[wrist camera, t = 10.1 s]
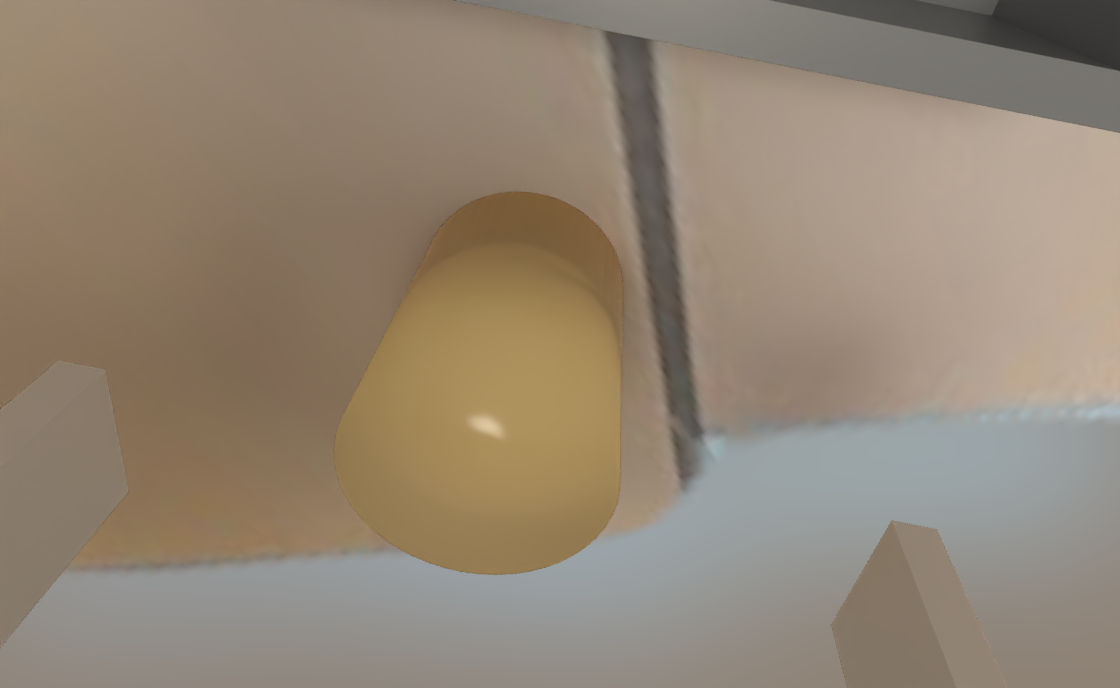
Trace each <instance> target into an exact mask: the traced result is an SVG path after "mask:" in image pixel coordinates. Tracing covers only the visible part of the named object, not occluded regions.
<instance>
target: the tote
mask: <svg viewBox="0 0 1120 688" xmlns="http://www.w3.org/2000/svg"><path fill="white" fill-rule="evenodd" d="M455 1H460V2H465V3H470V4H475V5H480V6H485V7H490V8H496V9H501V10H506V11H511V12H516V13H521V14H526V15H531V16H536V17H541V18H546V19H551V20H556V21H561V22H566V23H571V24H576V25H581V26H586V27H591V28H596V29H601V30H606V31H611V32H616V33H621V34H626V35H631V36H636V37H641V38H646V39H651V40H656V41H661V42H666V43H671V44H676V45H681V46H686V47H691V48H696V49H701V50H706V51H711V52H716V53H721V54H726V55H732V56H737V57H742V58H747V59H752V60H757V61H762V62H767V63H772V64H777V65H782V66H787V67H792V68H797V69H802V70H807V71H812V72H817V73H822V74H827V75H832V76H837V77H842V78H847V79H852V80H857V81H862V82H867V83H872V84H877V85H882V86H887V87H892V88H897V89H902V90H907V91H912V92H917V93H922V94H927V95H932V96H937V97H942V98H947V99H952V100H957V101H962V102H967V103H973V104H978V105H983V106H988V107H993V108H998V109H1003V110H1008V111H1013V112H1018V113H1023V114H1028V115H1033V116H1038V117H1043V118H1048V119H1053V120H1058V121H1063V122H1068V123H1073V124H1078V125H1083V126H1088V127H1093V128H1098V129H1103V130H1108V131H1113V132H1118V133H1120V0H455Z"/></svg>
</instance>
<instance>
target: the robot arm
mask: <svg viewBox="0 0 1120 688" xmlns="http://www.w3.org/2000/svg"><path fill="white" fill-rule="evenodd" d="M128 492H129V489H128V484H127V479H126V474H125V469H124V463H123V458H122V453H121V448H120V443H119V438H118V432H117V427H116V422H115V417H114V412H113V406H112V401H111V396H110V391H109V386H108V381H107V375H106V370H105V369H101V368H96V367H91V366H85V365H80V364H75V363H70V362H65V361H59V360H58V361H57V362H56V363H55V364H54V365H52V366H51V367H50V368H49V369H48V370H47V371H45V372H44V373H43V374H42V375H41V376H39V377H38V378H37V379H36V380H35V381H33V382H32V383H31V384H30V385H29V386H28V387H26V388H25V389H24V390H23V391H22V392H20V393H19V394H18V395H17V396H16V397H15V398H13V399H12V400H11V401H10V402H9V403H7V404H6V405H5V406H4V407H3V408H2V409H0V648H1V646H2V645H3V644H4V643H5V642H6V640H7V639H8V638H9V637H10V635H11V634H12V633H13V632H14V631H15V629H16V628H17V627H18V626H19V624H20V623H21V622H22V621H23V620H24V618H25V617H26V616H27V615H28V614H29V612H30V611H31V610H32V609H33V607H34V606H35V605H36V604H37V603H38V601H39V600H40V599H41V598H42V597H43V595H44V594H45V593H46V592H47V590H48V589H49V588H50V587H51V586H52V584H53V583H54V582H55V581H56V579H57V578H58V577H59V576H60V575H61V573H62V572H63V571H64V570H65V569H66V567H67V566H68V565H69V564H70V562H71V561H72V560H73V559H74V558H75V556H76V555H77V554H78V553H79V552H80V550H81V549H82V548H83V547H84V545H85V544H86V543H87V542H88V541H89V539H90V538H91V537H92V536H93V534H94V533H95V532H96V531H97V530H98V528H99V527H100V526H101V525H102V524H103V522H104V521H105V520H106V519H107V517H108V516H109V515H110V514H111V513H112V511H113V510H114V509H115V508H116V506H117V505H118V504H119V503H120V502H121V500H122V499H123V498H124V497H125V496H126V494H127V493H128ZM831 626H832V630H833V634H834V638H835V642H836V646H837V650H838V654H839V658H840V662H841V666H842V670H843V674H844V677H845V681H846V685H847V688H1008V686H1007V684H1006V682H1005V680H1004V677H1003V675H1002V673H1001V671H1000V668H999V666H998V664H997V662H996V660H995V657H994V655H993V653H992V651H991V648H990V646H989V644H988V642H987V640H986V637H985V635H984V633H983V631H982V629H981V626H980V624H979V622H978V620H977V617H976V615H975V613H974V611H973V609H972V606H971V604H970V602H969V600H968V597H967V596H966V593H965V591H964V589H963V587H962V584H961V582H960V580H959V577H958V575H957V573H956V571H955V569H954V566H953V564H952V562H951V560H950V557H949V555H948V553H947V551H946V549H945V546H944V544H943V542H942V540H941V538H940V535H939V533H938V531H937V529H933V528H928V527H922V526H917V525H912V524H906V523H902V522H896V521H891V523H890V524H889V526H888V528H887V530H886V531H885V533H884V535H883V537H882V538H881V540H880V542H879V543H878V545H877V547H876V549H875V550H874V552H873V554H872V555H871V557H870V559H869V560H868V562H867V564H866V566H865V567H864V569H863V571H862V573H861V574H860V576H859V578H858V580H857V581H856V583H855V584H854V586H853V588H852V590H851V592H850V593H849V595H848V596H847V598H846V600H845V602H844V603H843V605H842V607H841V609H840V610H839V612H838V614H837V615H836V617H835V619H834V621H833V622H832V624H831Z"/></svg>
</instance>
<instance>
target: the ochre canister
mask: <svg viewBox="0 0 1120 688" xmlns="http://www.w3.org/2000/svg"><path fill="white" fill-rule="evenodd" d="M622 295H623V280H622V272H621V267H620V264H619V260H618V257H617V255H616V253H615V250H614V248H613V246H612V245H611V243H610V241H609V240H608V238H607V237H606V235H605V234H604V233H603V232H602V230H601V229H600V228H599V227H598V226H597V225H596V224H595V223H594V222H593V221H592V220H591V219H590V218H589V217H588V216H586V215H585V214H583V213H582V212H581V211H579V210H578V209H576V208H574V207H573V206H571V205H569V204H567V203H565V202H563V201H560V200H558V199H555V198H553V197H549V196H545V195H541V194H536V193H528V192H506V193H498V194H494V195H490V196H486V197H483V198H480V199H478V200H476V201H473V202H471V203H469V204H468V205H466V206H464V207H462V208H461V209H459V210H458V211H457V212H456V213H454V214H453V215H452V216H451V217H450V218H449V219H448V220H447V221H446V222H445V223H444V224H443V225H442V226H441V228H440V229H439V231H438V232H437V234H436V235H435V237H434V239H433V241H432V243H431V245H430V247H429V249H428V251H427V253H426V255H425V257H424V259H423V260H422V262H421V264H420V266H419V268H418V270H417V272H416V274H415V276H414V278H413V280H412V282H411V284H410V286H409V288H408V290H407V292H406V294H405V296H404V298H403V300H402V301H401V303H400V305H399V307H398V309H397V311H396V313H395V315H394V317H393V319H392V321H391V323H390V325H389V327H388V329H387V331H386V333H385V335H384V337H383V339H382V341H381V342H380V344H379V346H378V348H377V350H376V352H375V354H374V356H373V358H372V360H371V362H370V364H369V366H368V368H367V370H366V372H365V374H364V376H363V378H362V380H361V382H360V384H359V385H358V387H357V389H356V391H355V393H354V395H353V397H352V399H351V401H350V403H349V405H348V407H347V409H346V411H345V413H344V415H343V417H342V419H341V421H340V423H339V426H338V429H337V433H336V436H335V444H334V461H335V469H336V473H337V477H338V480H339V483H340V485H341V487H342V490H343V492H344V494H345V496H346V498H347V499H348V501H349V503H350V504H351V506H352V507H353V509H354V510H355V511H356V512H357V514H358V515H359V516H360V517H361V519H362V520H363V521H364V522H365V523H366V524H367V525H368V526H369V527H370V528H371V529H372V530H373V531H375V532H376V533H377V534H378V535H380V536H381V537H382V538H383V539H385V540H386V541H388V542H389V543H391V544H392V545H394V546H395V547H397V548H398V549H400V550H402V551H404V552H406V553H408V554H410V555H412V556H413V557H416V558H418V559H421V560H423V561H425V562H428V563H431V564H434V565H437V566H440V567H444V568H447V569H451V570H456V571H460V572H467V573H475V574H488V575H503V574H516V573H523V572H530V571H534V570H537V569H542V568H546V567H548V566H551V565H554V564H557V563H559V562H561V561H563V560H565V559H567V558H569V557H571V556H573V555H575V554H576V553H578V552H579V551H581V550H582V549H584V548H585V547H586V546H588V545H589V544H590V543H591V542H592V541H593V540H594V539H596V538H597V536H598V535H599V534H600V533H601V532H602V530H603V529H604V528H605V527H606V525H607V523H608V522H609V520H610V518H611V517H612V515H613V512H614V510H615V507H616V505H617V502H618V497H619V492H620V461H621V378H622Z"/></svg>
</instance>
